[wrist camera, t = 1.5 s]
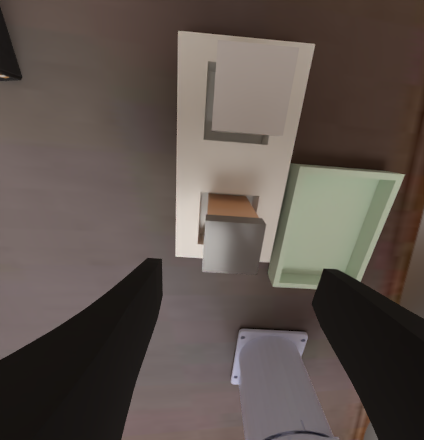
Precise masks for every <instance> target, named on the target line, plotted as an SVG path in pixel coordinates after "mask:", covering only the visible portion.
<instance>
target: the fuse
mask: <svg viewBox="0 0 424 440" xmlns="http://www.w3.org/2000/svg"><path fill="white" fill-rule="evenodd" d="M298 52H299V48H298V47H287V46H277V45H267V44H256V43H246V42H235V41H225V40H218V43H217V58H216V73H215V87H214V102H213V117H212V131H213V132H222V133H235V134H247V135H270V136H283V132H284V127H285V122H286V116H287V111H288V106H289V100H290V95H291V90H292V84H293V79H294V74H295V68H296V63H297V58H298Z"/></svg>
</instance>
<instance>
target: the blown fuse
mask: <svg viewBox="0 0 424 440" xmlns="http://www.w3.org/2000/svg"><path fill="white" fill-rule="evenodd" d="M265 229H266V224H265V222H264V220H263V219H262V218H259V217H258V215H257V213H256V212H255V210H254V208H253V207H252V205H251V203H250V202H249V200H248V198H247V197H246V196H236V195H223V194H209V193H208V207H207V214H206V219H205V234H204V248H203V263H202V272H212V273H229V274H246V275H257V271H258V266H259V261H260V255H261V250H262V245H263V239H264V234H265Z"/></svg>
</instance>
